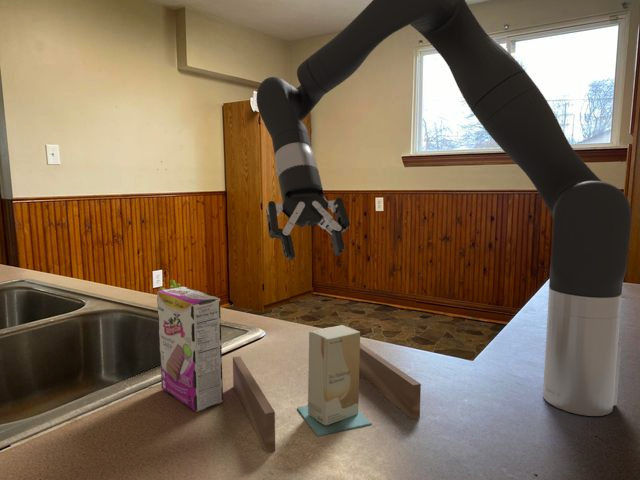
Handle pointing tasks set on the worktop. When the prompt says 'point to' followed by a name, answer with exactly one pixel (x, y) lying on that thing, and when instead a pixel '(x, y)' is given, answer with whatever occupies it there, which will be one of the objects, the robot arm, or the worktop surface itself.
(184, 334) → the candy bar box
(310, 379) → the skincare box
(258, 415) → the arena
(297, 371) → the worktop surface
